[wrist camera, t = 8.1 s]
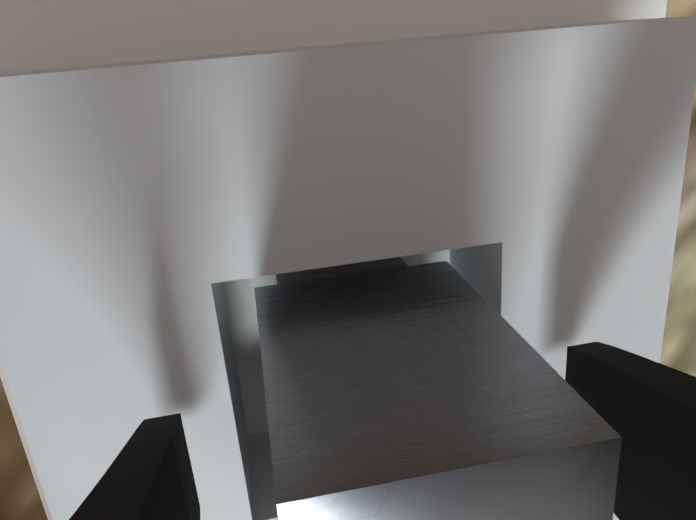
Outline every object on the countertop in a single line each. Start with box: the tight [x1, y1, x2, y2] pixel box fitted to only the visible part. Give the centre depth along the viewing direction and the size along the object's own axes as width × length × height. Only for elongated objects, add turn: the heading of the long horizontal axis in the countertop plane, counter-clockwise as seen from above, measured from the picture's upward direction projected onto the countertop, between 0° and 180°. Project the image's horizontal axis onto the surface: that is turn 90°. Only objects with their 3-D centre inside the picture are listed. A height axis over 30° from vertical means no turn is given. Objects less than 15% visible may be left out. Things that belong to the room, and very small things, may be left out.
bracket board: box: [0, 0, 696, 520], centre depth 14 cm, size 18×16×4 cm
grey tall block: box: [254, 257, 622, 520], centre depth 11 cm, size 4×4×8 cm
